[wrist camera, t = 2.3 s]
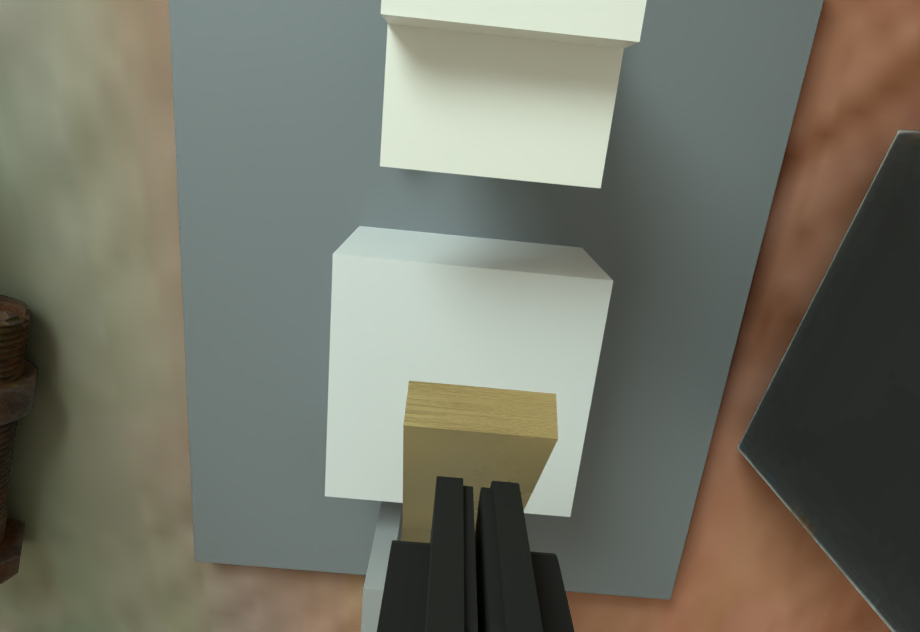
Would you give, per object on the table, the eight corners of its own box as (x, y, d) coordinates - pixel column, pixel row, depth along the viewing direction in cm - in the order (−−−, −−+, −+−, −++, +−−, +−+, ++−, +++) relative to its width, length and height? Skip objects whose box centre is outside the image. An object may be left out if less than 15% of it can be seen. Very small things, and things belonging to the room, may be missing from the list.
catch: (421, -22, 24) (388, -142, 13) (572, -5, 24) (665, -109, 13) (409, 149, 26) (372, 170, 15) (549, 163, 26) (613, 194, 15)
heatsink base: (181, -95, 24) (15, -223, 15) (810, -24, 25) (1009, -107, 16) (206, 542, 34) (113, 696, 25) (661, 579, 35) (732, 742, 26)
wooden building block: (428, 267, 22) (400, 397, 11) (517, 275, 22) (567, 412, 11) (401, 594, 26) (363, 898, 16) (474, 600, 26) (483, 906, 16)
